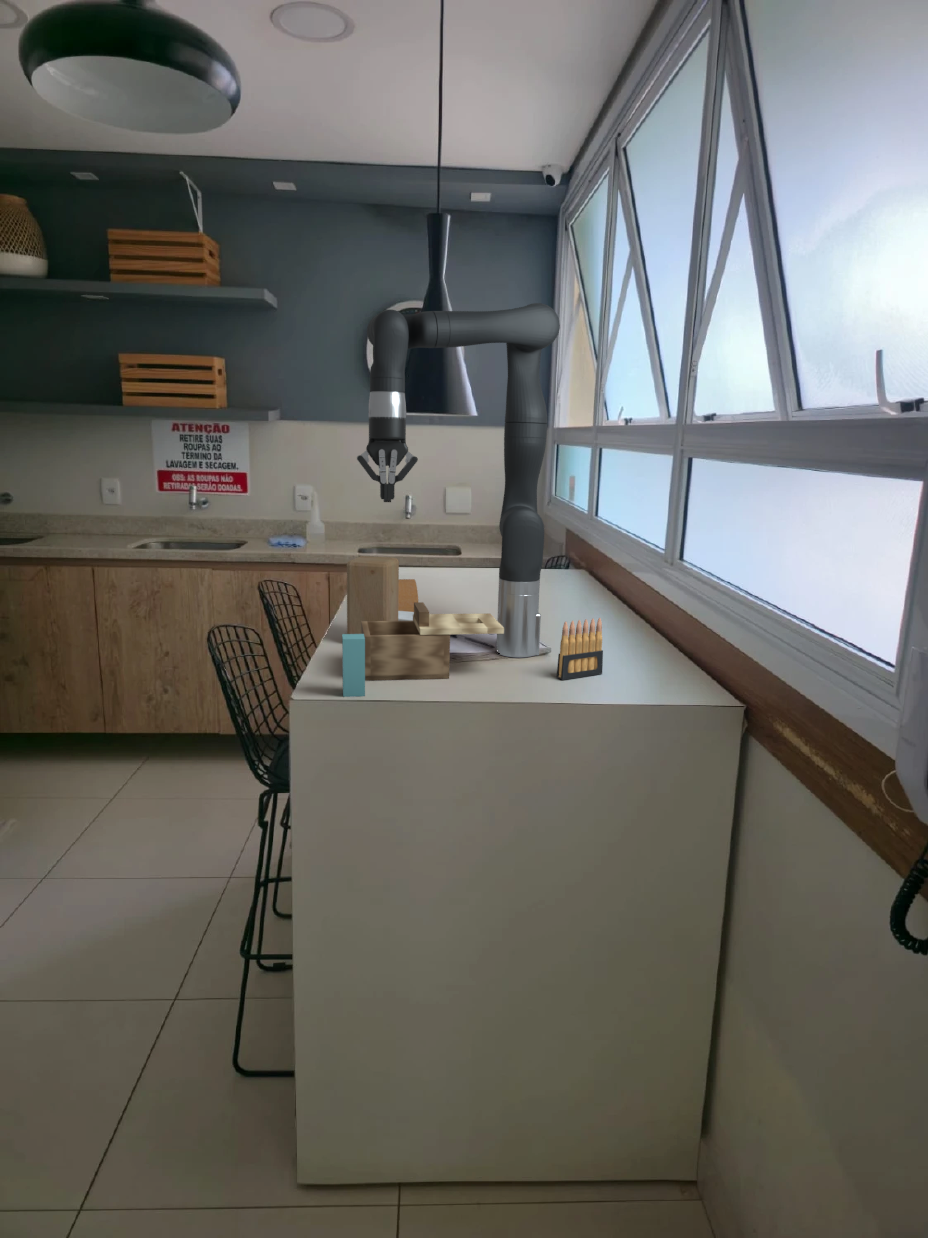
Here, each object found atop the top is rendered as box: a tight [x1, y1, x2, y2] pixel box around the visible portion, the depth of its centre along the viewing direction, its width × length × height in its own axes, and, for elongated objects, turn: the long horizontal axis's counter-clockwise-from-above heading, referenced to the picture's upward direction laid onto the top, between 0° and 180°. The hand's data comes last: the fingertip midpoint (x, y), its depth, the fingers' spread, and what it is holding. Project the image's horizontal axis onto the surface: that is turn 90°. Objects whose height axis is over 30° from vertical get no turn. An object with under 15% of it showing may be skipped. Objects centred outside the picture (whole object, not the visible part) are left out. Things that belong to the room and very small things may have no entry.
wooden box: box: [361, 621, 451, 682], centre depth 165 cm, size 17×14×9 cm
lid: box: [413, 601, 504, 635], centre depth 166 cm, size 17×14×4 cm
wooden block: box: [346, 555, 400, 634], centre depth 186 cm, size 10×10×20 cm
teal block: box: [341, 633, 366, 698], centre depth 149 cm, size 4×4×11 cm
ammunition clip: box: [556, 617, 604, 681], centre depth 164 cm, size 11×2×12 cm, turn 120°
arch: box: [398, 578, 419, 612], centre depth 219 cm, size 6×20×10 cm, turn 10°
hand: (387, 501), depth 165 cm, fingers closed
